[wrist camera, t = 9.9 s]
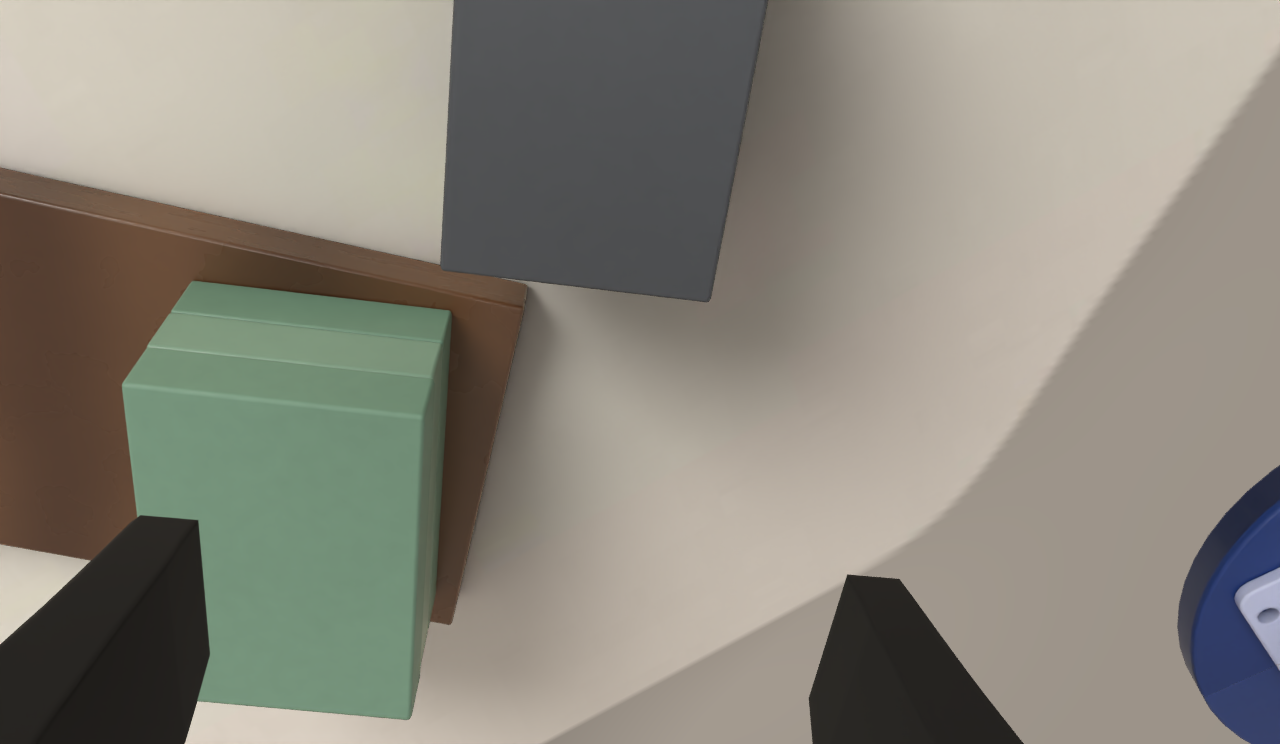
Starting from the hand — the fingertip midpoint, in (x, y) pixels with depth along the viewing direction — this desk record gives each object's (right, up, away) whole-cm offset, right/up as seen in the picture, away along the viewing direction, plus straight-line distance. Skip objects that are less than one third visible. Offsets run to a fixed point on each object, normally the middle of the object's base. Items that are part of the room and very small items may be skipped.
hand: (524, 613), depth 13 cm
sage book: (-5, 0, +8) cm, 10 cm away
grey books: (+1, +9, +7) cm, 11 cm away
